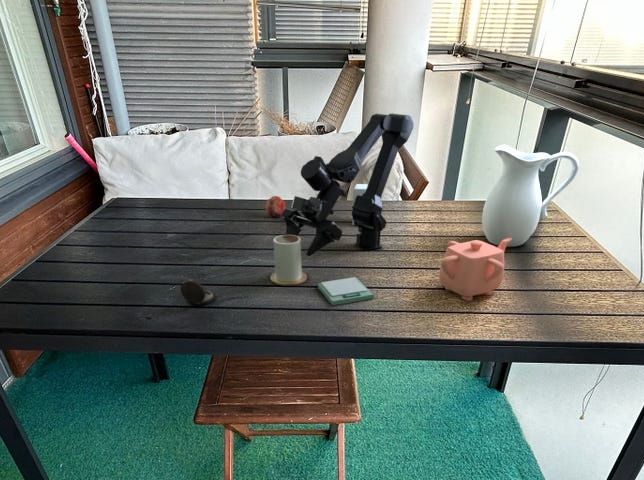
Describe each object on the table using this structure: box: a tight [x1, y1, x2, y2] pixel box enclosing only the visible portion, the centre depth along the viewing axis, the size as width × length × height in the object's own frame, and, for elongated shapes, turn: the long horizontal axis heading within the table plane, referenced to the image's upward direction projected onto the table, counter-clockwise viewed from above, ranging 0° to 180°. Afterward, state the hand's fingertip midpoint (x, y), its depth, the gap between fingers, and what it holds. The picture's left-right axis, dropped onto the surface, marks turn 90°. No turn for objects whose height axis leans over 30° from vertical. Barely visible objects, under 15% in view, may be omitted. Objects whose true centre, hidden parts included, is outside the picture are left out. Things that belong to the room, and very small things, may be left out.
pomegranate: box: [265, 195, 287, 218], centre depth 178 cm, size 7×7×10 cm
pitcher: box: [481, 144, 580, 248], centre depth 147 cm, size 24×17×28 cm
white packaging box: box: [351, 183, 368, 226], centre depth 169 cm, size 7×7×13 cm
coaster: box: [270, 271, 308, 287], centre depth 133 cm, size 10×10×1 cm
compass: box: [180, 278, 215, 306], centre depth 120 cm, size 8×8×7 cm
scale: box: [317, 276, 374, 306], centre depth 125 cm, size 11×11×2 cm
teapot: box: [438, 238, 512, 301], centre depth 122 cm, size 17×16×13 cm
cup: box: [272, 234, 303, 282], centre depth 130 cm, size 7×7×11 cm
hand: (296, 250), depth 131 cm, fingers open, 9 cm apart
